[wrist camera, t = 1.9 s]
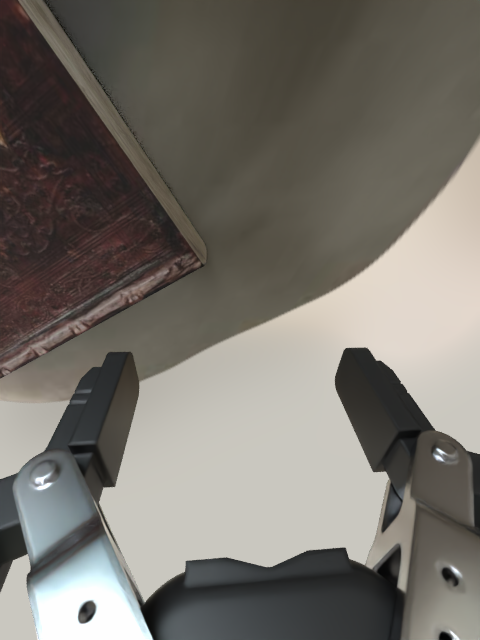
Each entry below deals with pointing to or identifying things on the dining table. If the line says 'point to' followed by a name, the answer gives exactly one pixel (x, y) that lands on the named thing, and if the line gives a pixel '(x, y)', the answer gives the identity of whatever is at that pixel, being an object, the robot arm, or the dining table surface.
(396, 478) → the robot arm
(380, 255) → the dining table surface
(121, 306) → the hardback book
